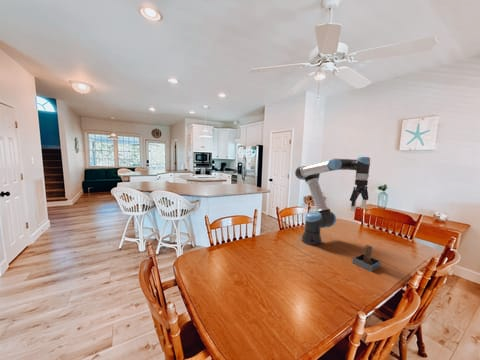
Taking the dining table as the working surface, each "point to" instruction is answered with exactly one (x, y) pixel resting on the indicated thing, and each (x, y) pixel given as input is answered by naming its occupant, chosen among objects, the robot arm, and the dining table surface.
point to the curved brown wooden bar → (367, 254)
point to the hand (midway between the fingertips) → (358, 209)
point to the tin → (371, 267)
